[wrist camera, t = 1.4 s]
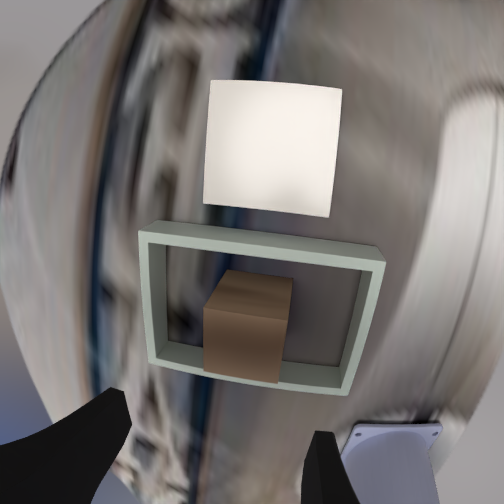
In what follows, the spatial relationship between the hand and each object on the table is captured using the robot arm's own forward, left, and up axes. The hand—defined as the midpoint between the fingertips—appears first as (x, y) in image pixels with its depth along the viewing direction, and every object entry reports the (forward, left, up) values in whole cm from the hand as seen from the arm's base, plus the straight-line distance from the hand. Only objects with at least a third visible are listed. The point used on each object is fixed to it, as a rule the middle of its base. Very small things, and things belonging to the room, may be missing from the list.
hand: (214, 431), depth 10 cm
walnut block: (0, 0, -10) cm, 10 cm away
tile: (+10, 0, -10) cm, 14 cm away
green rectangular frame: (0, 0, -10) cm, 10 cm away
